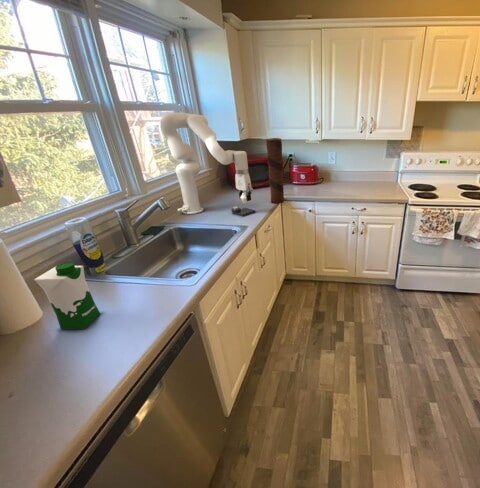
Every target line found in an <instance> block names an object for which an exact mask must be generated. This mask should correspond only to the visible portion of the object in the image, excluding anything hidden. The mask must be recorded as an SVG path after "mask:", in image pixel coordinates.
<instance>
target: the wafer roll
mask: <svg viewBox="0 0 480 488" xmlns="http://www.w3.org/2000/svg"><path fill="white" fill-rule="evenodd" d="M282 142H283V141H282V138H279V137H271V138H266V139H265V146H266V154H267V155H266V156H267V164H268V182H269V190H270V202H271V203H273V204H283V203H284V202H285V195H284V194H285V192H284V191H285V190H284V189H285V188H284V165H283V143H282Z"/></svg>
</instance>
